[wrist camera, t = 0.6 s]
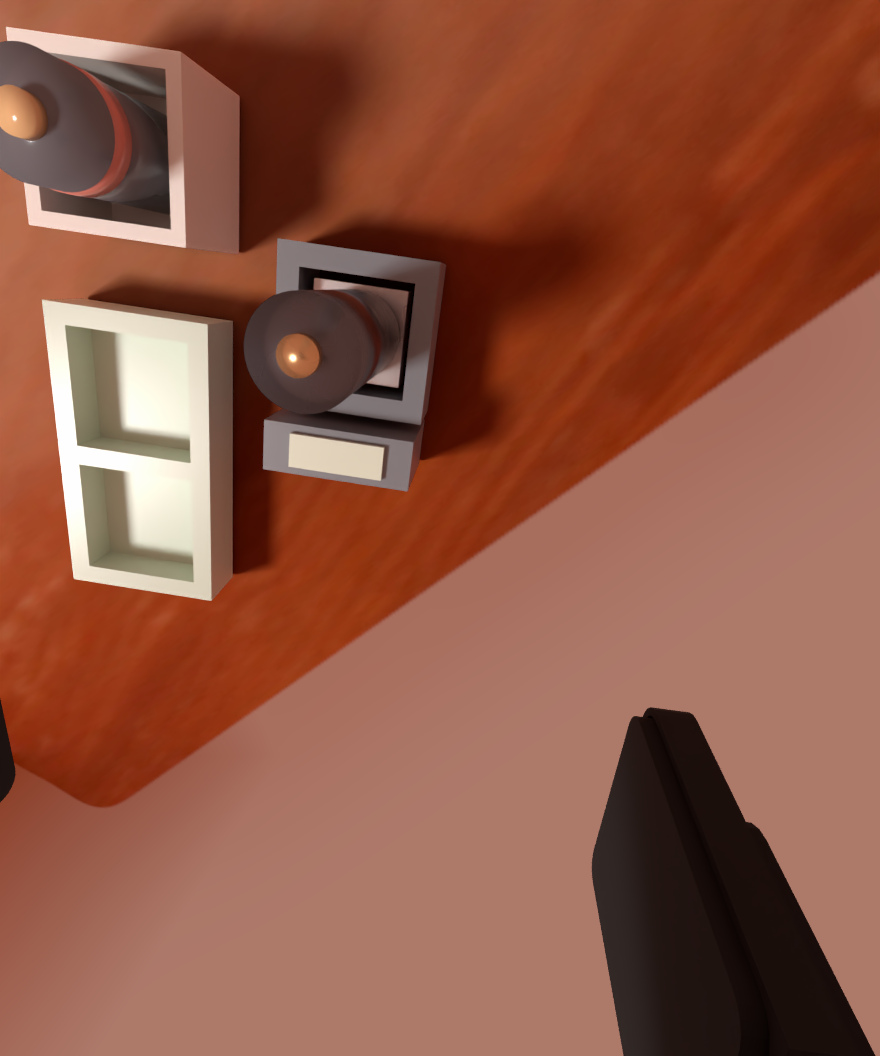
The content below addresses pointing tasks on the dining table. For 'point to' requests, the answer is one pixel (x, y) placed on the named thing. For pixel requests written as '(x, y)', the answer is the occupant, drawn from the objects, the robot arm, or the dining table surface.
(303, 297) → the cell
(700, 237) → the dining table surface
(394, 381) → the pad
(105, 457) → the tray
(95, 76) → the cup
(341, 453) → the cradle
